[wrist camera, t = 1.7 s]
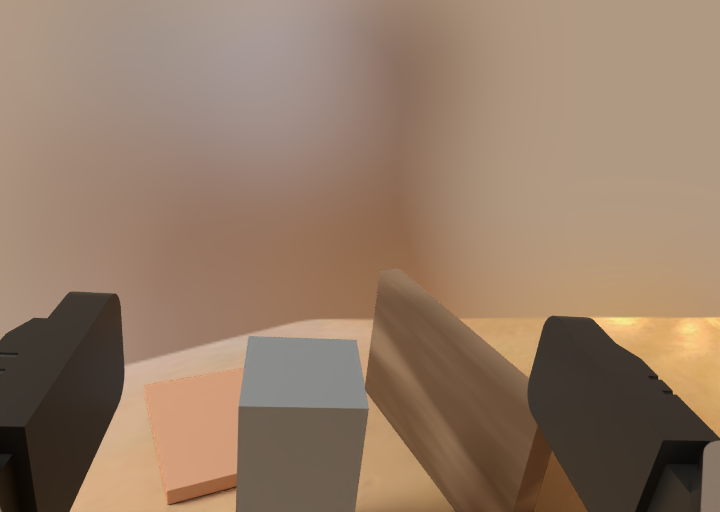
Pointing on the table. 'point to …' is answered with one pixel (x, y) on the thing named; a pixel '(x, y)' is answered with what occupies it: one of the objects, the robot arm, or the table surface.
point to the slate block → (300, 425)
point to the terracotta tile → (196, 432)
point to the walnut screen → (454, 401)
